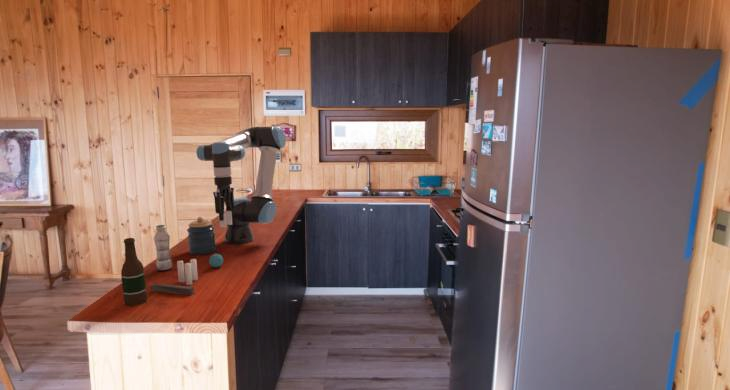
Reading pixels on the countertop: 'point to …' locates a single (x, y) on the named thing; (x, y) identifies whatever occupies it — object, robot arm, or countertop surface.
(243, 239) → the robot arm
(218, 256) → the ball
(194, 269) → the front pin
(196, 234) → the canister
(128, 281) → the beer bottle
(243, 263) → the countertop surface
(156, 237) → the plastic bottle
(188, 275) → the pin
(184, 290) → the dark grey rod
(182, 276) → the back pin
